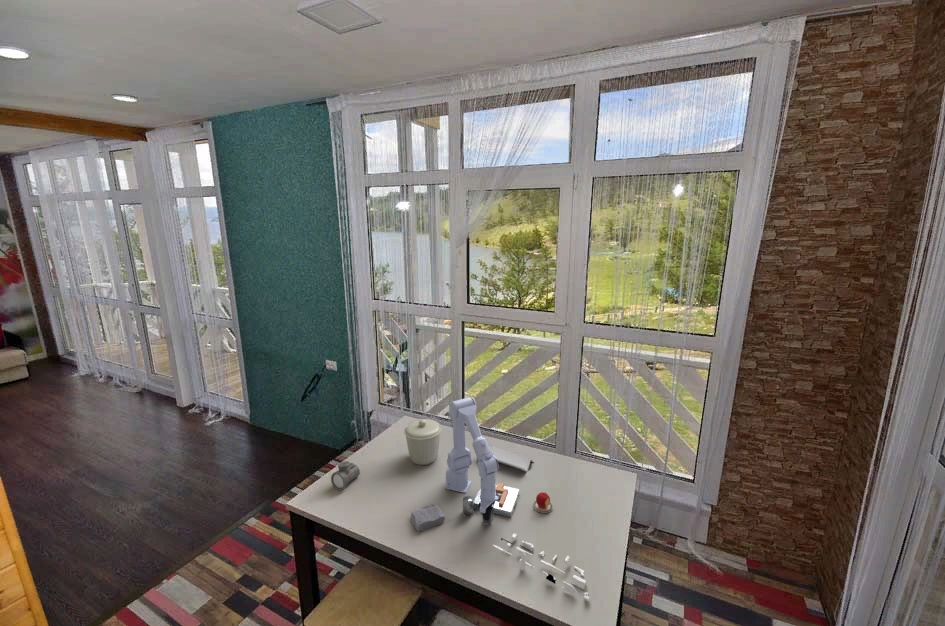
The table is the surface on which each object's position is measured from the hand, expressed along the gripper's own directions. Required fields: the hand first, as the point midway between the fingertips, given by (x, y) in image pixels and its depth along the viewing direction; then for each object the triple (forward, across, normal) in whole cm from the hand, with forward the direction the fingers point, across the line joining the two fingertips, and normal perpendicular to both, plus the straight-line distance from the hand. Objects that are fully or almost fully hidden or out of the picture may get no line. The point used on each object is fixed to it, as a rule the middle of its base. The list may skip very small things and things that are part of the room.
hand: (488, 515), depth 160 cm
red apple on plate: (+3, +15, -19) cm, 24 cm away
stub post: (+3, +2, +9) cm, 10 cm away
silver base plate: (+3, +12, 0) cm, 12 cm away
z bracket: (+3, +40, +4) cm, 40 cm away
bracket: (0, +13, 0) cm, 13 cm away
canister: (+3, +29, +42) cm, 51 cm away
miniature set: (+3, -13, -24) cm, 27 cm away
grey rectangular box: (+3, 0, 0) cm, 3 cm away
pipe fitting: (+3, +2, +67) cm, 67 cm away
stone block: (+3, -7, +23) cm, 24 cm away
